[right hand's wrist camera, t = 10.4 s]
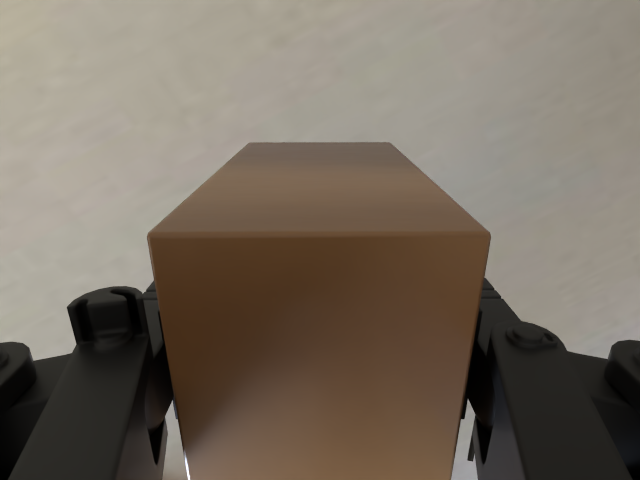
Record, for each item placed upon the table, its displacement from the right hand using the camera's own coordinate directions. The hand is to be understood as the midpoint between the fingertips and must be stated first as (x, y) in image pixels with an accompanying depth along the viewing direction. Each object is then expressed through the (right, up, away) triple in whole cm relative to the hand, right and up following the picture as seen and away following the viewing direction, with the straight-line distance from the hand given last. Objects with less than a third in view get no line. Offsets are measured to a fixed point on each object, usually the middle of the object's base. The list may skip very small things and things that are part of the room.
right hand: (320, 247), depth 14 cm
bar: (0, -8, +4) cm, 9 cm away
